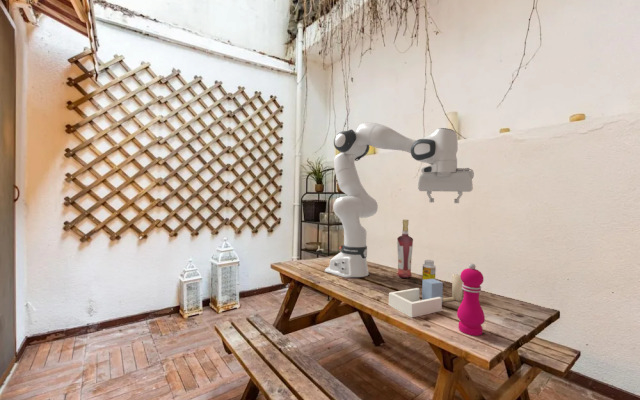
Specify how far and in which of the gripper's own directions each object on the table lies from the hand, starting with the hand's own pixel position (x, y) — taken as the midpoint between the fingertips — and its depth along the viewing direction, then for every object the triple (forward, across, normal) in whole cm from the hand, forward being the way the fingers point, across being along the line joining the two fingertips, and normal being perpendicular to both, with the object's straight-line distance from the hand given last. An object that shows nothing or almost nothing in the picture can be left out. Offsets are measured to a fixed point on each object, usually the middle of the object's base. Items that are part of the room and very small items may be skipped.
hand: (443, 202), depth 115 cm
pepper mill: (+37, -14, +29) cm, 49 cm away
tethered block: (+37, -3, +8) cm, 38 cm away
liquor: (+37, +20, -14) cm, 45 cm away
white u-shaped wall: (+37, +4, +22) cm, 43 cm away
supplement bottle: (+37, +8, -12) cm, 40 cm away
